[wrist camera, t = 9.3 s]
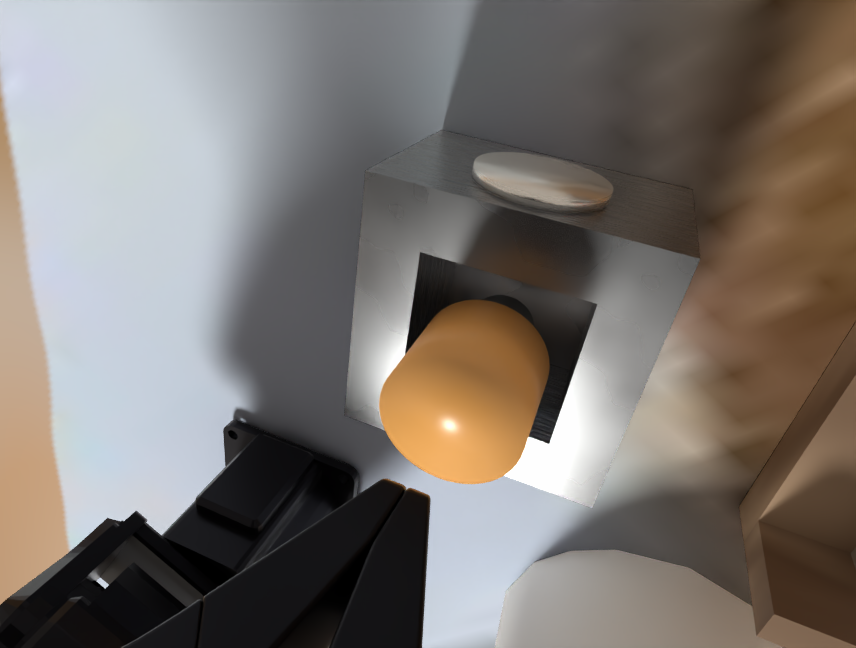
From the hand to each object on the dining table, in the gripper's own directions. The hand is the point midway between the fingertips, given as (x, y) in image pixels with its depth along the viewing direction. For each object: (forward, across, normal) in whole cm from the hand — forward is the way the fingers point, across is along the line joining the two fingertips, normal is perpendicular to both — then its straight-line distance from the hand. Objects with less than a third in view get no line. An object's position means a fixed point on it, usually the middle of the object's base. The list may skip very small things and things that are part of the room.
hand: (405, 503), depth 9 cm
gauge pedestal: (+10, 0, 0) cm, 10 cm away
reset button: (+6, 0, 0) cm, 6 cm away
